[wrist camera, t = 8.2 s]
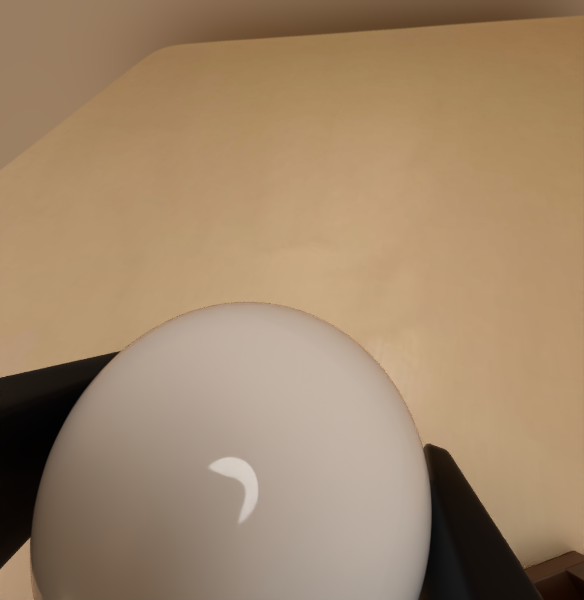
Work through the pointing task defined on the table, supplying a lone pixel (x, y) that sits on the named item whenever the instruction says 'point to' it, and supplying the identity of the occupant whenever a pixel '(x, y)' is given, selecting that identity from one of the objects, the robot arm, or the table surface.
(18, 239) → the table surface
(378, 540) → the lightbulb
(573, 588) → the shelf
